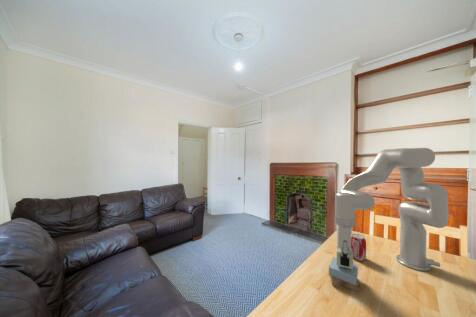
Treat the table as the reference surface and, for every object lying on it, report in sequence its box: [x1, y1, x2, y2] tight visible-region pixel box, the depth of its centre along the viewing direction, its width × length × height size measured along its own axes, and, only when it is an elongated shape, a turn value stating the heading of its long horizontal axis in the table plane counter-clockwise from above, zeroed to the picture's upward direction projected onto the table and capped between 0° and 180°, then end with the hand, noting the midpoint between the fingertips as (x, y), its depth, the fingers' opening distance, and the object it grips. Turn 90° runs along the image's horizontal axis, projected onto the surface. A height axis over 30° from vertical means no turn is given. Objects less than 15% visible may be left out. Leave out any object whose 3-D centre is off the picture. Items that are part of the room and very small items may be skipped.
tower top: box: [328, 256, 359, 285], centre depth 79 cm, size 10×10×4 cm
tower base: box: [328, 264, 361, 292], centre depth 79 cm, size 10×10×4 cm
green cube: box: [336, 246, 354, 269], centre depth 79 cm, size 6×6×6 cm
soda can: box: [351, 233, 367, 262], centre depth 97 cm, size 7×7×12 cm
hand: (344, 261), depth 79 cm, fingers closed on green cube, 6 cm apart
